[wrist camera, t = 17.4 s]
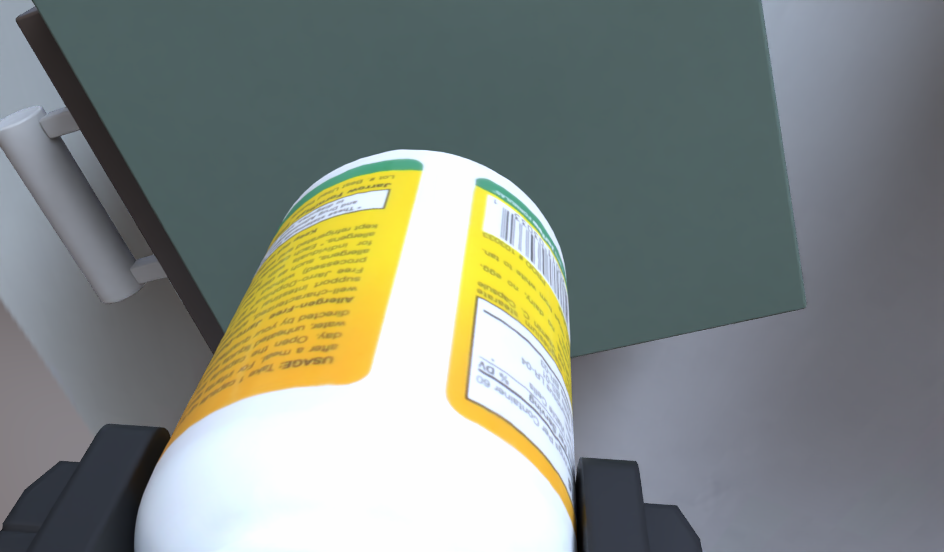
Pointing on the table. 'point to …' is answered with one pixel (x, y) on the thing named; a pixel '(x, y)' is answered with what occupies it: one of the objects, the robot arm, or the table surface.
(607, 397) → the table surface
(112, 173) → the drawer
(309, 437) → the supplement bottle
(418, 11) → the cabinet
